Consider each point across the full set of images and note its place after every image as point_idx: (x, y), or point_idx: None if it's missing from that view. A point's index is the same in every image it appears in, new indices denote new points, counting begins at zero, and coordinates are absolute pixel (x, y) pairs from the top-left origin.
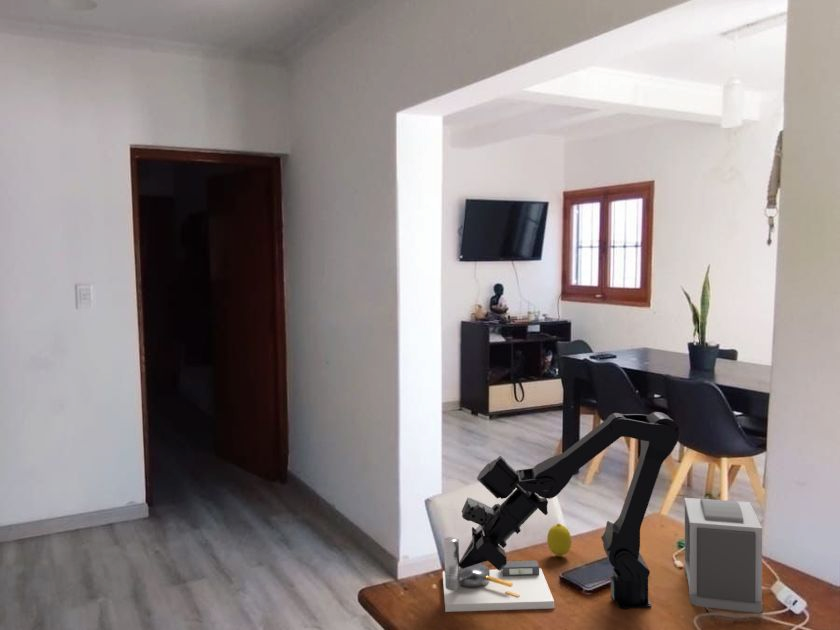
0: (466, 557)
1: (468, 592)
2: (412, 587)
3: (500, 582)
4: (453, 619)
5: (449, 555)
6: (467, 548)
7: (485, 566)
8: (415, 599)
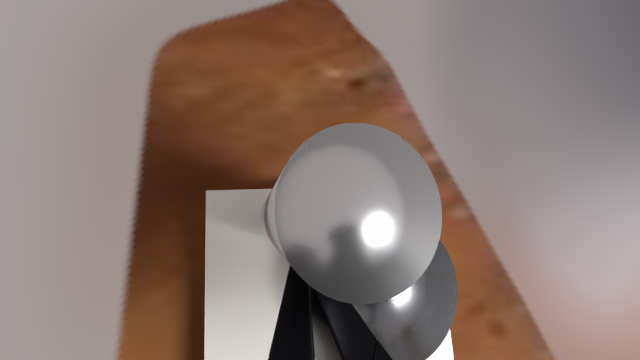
0: (274, 331)
1: None
2: (362, 102)
3: None
4: (155, 220)
5: (269, 195)
6: (377, 345)
7: (429, 350)
8: (294, 106)
